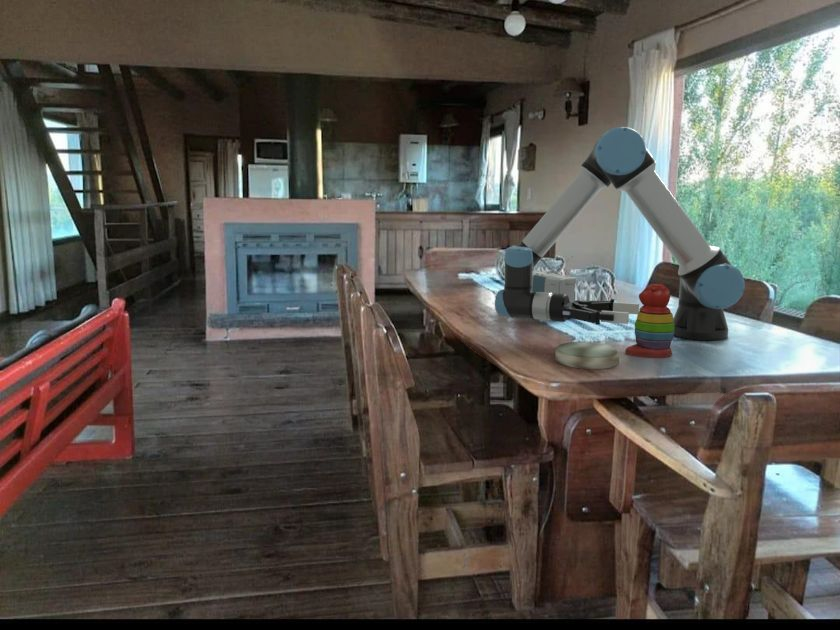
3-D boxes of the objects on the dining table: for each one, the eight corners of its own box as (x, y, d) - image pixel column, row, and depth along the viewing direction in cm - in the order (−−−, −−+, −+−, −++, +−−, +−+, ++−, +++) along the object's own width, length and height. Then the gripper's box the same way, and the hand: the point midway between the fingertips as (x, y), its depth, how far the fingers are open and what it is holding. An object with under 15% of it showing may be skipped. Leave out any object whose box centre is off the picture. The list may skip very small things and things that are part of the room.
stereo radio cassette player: (520, 309, 223) (521, 252, 219) (540, 307, 226) (541, 251, 222) (556, 320, 204) (558, 257, 200) (577, 318, 207) (579, 256, 203)
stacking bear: (643, 346, 169) (647, 279, 166) (680, 353, 162) (685, 283, 159) (622, 353, 162) (625, 283, 159) (659, 361, 155) (664, 288, 152)
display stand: (619, 355, 160) (620, 343, 160) (617, 371, 146) (618, 358, 146) (558, 351, 165) (559, 339, 164) (551, 366, 151) (551, 353, 151)
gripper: (564, 312, 184) (641, 319, 174) (536, 329, 162) (622, 338, 152) (565, 287, 182) (643, 292, 172) (537, 300, 161) (624, 306, 151)
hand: (633, 313), depth 162 cm, fingers open, 13 cm apart
